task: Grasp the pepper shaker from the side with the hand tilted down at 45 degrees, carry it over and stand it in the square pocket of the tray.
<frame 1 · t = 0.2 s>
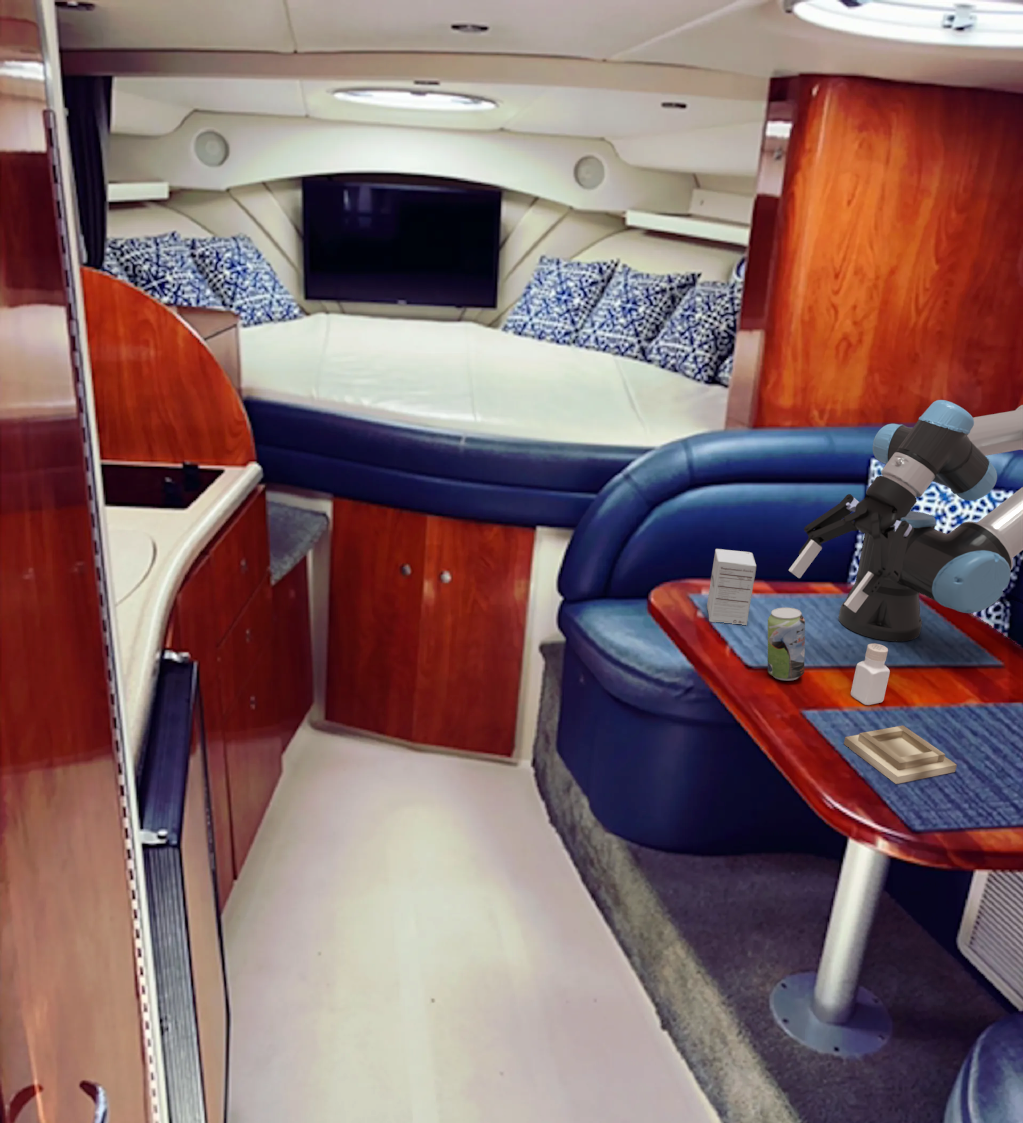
hand: (820, 591, 161), 15 cm above the table, tool tilted 35°, fingers open, 13 cm apart
beverage can: (780, 676, 165), on the table
pepper shaker: (866, 700, 159), on the table
supplement box: (725, 617, 188), on the table
tray: (898, 757, 142), on the table
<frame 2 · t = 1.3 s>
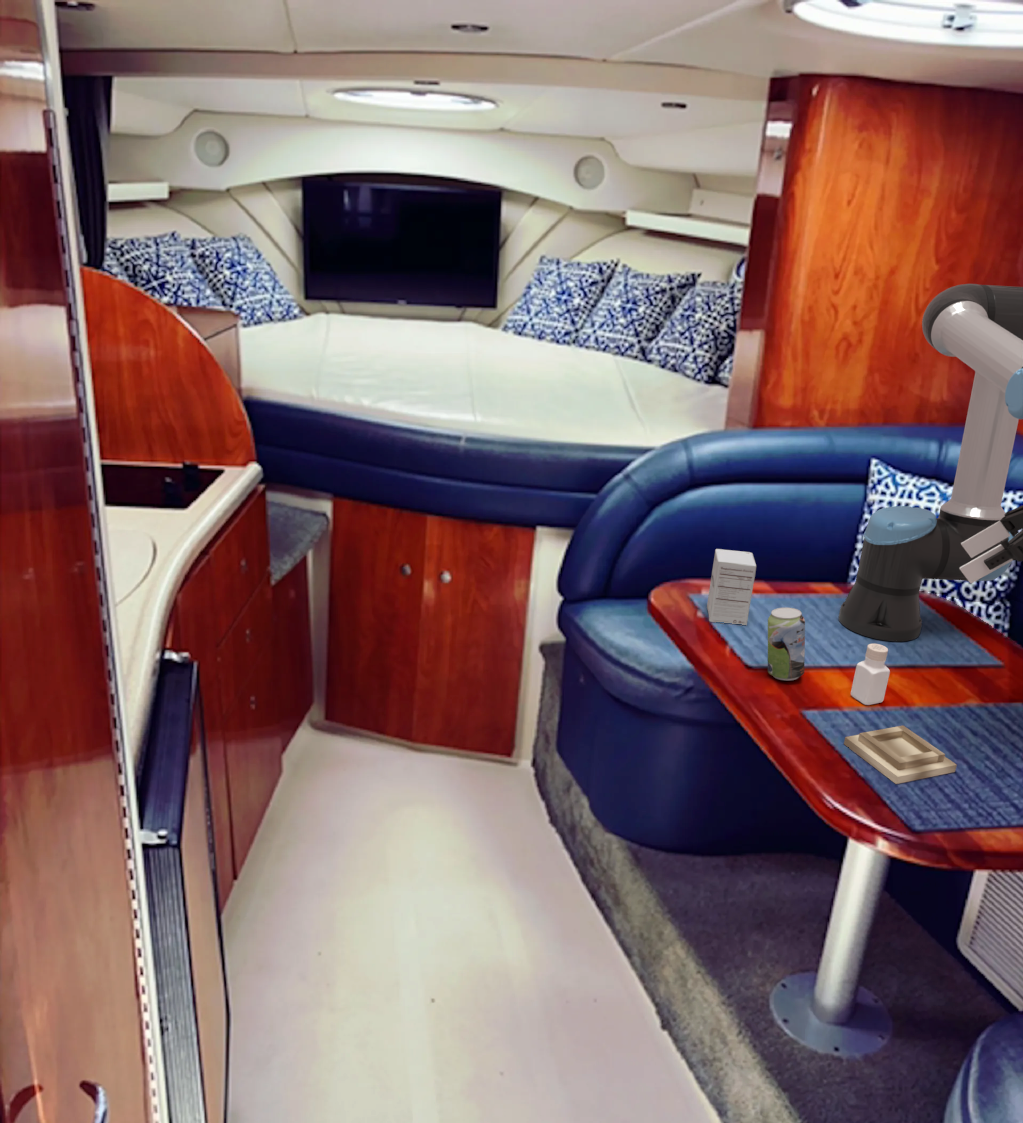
hand: (965, 562, 147), 26 cm above the table, tool tilted 45°, fingers open, 13 cm apart
nothing on the table moved.
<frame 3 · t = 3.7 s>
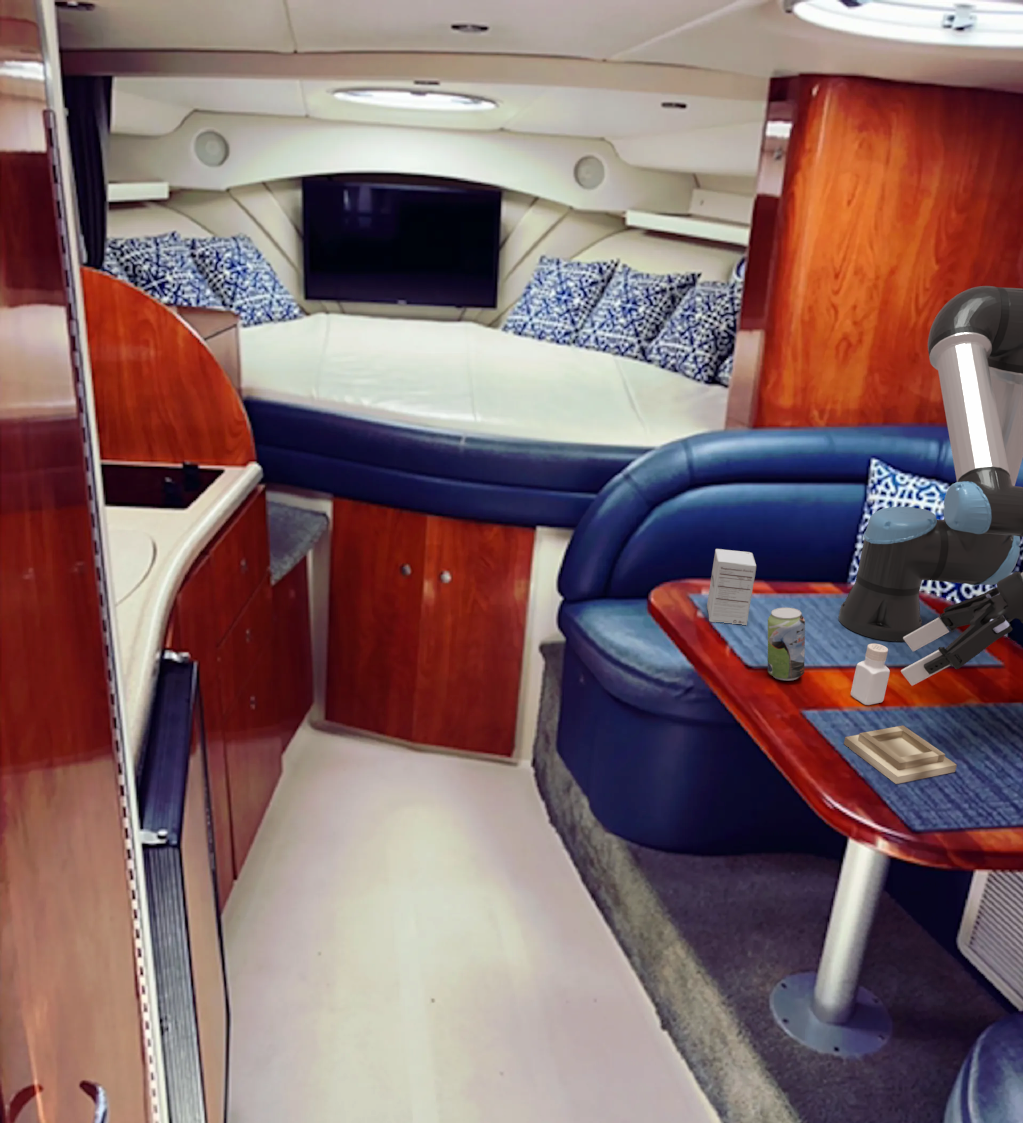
hand: (907, 660, 153), 9 cm above the table, tool tilted 45°, fingers open, 13 cm apart
nothing on the table moved.
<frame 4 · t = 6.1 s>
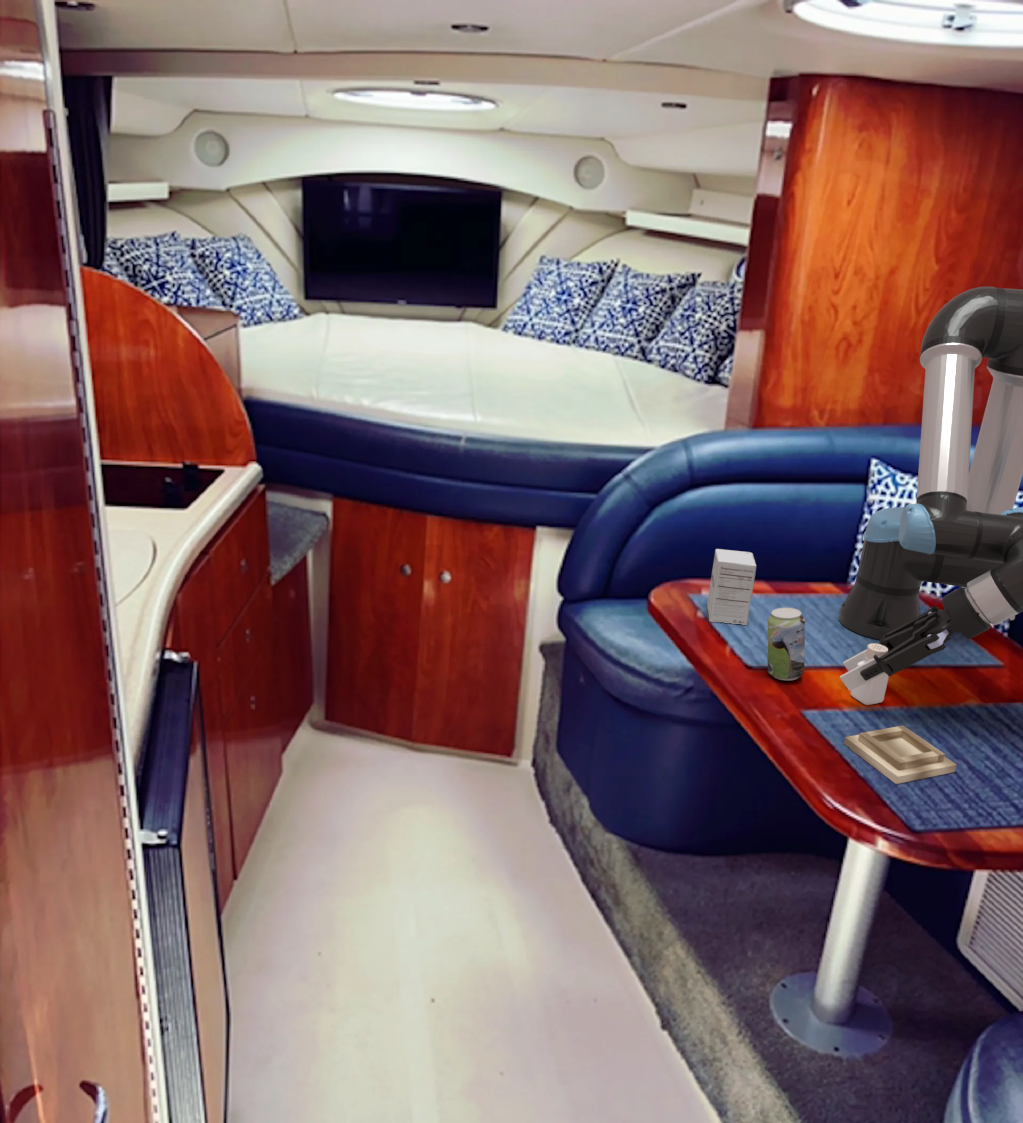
hand: (846, 676, 159), 3 cm above the table, tool tilted 45°, fingers closed on pepper shaker, 5 cm apart
pepper shaker: (866, 700, 159), on the table, touching gripper
everything else where it was.
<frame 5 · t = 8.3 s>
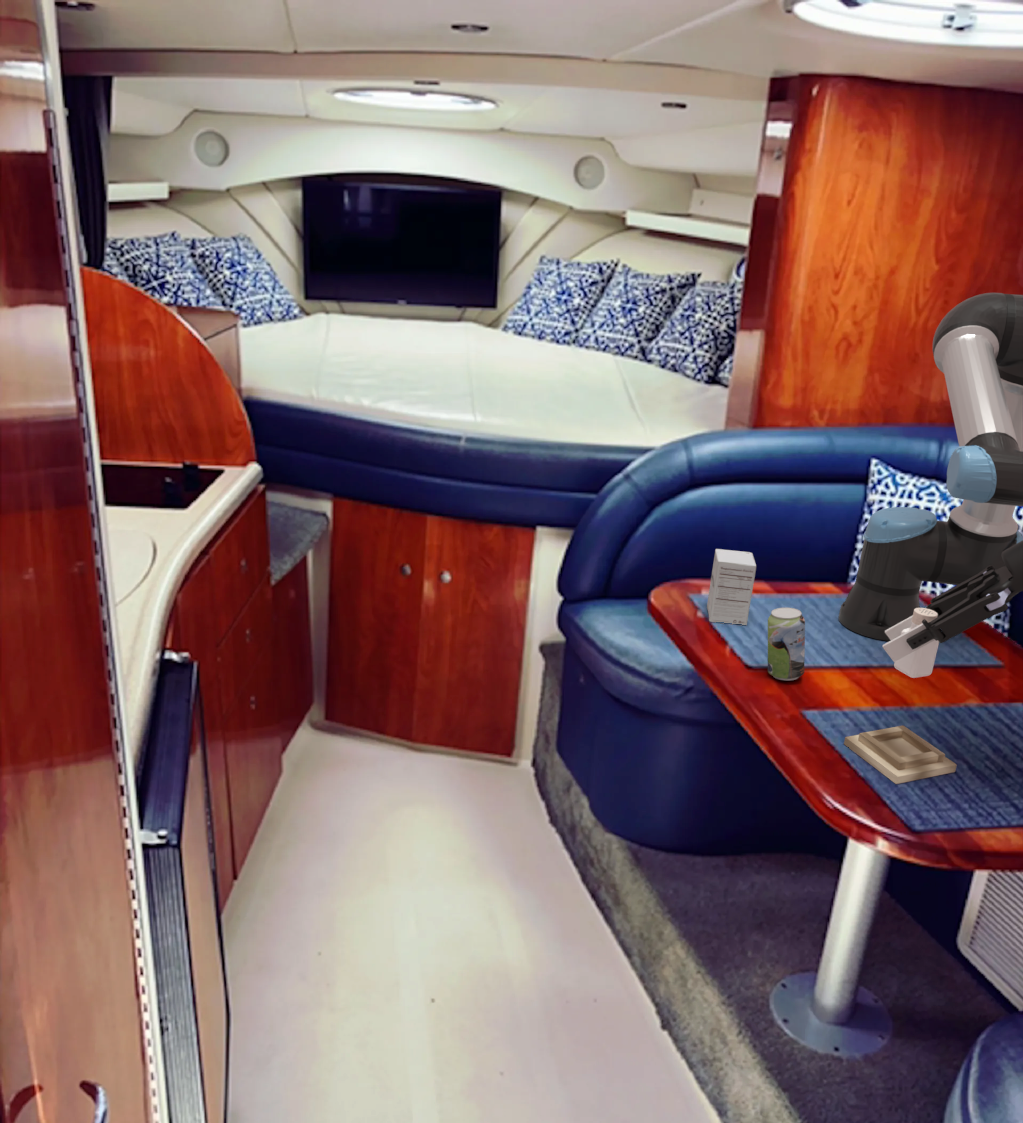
hand: (889, 645, 140), 16 cm above the table, tool tilted 45°, fingers closed on pepper shaker, 5 cm apart
pepper shaker: (911, 673, 140), point 13 cm above the table, touching gripper
everything else where it was.
when the fingers open (6 cm above the table, at t = 10.6 s): pepper shaker drops 1 cm, resting on tray.
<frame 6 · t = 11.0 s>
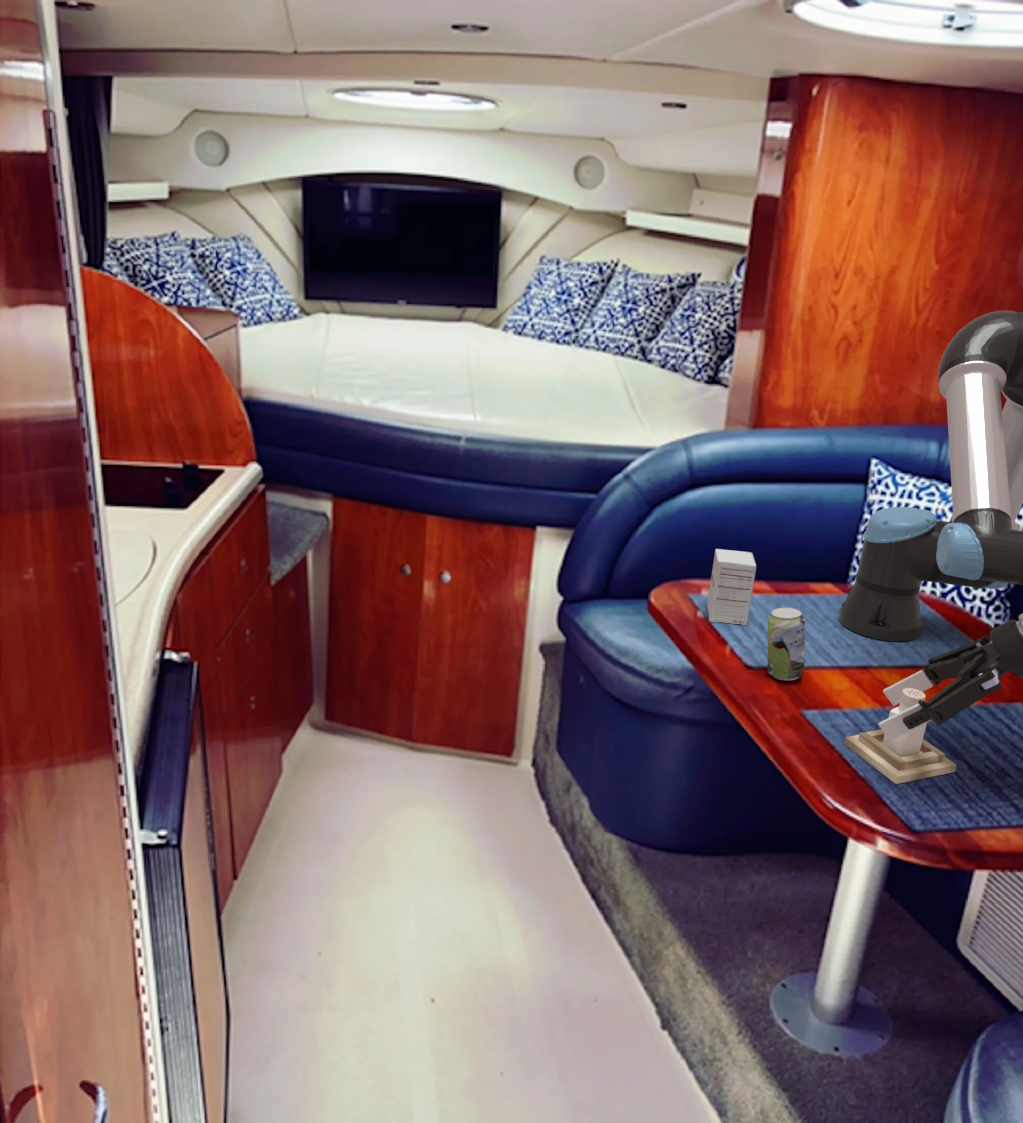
hand: (886, 714, 141), 6 cm above the table, tool tilted 45°, fingers open, 10 cm apart
pepper shaker: (900, 751, 142), point 1 cm above the table, touching tray
everything else where it was.
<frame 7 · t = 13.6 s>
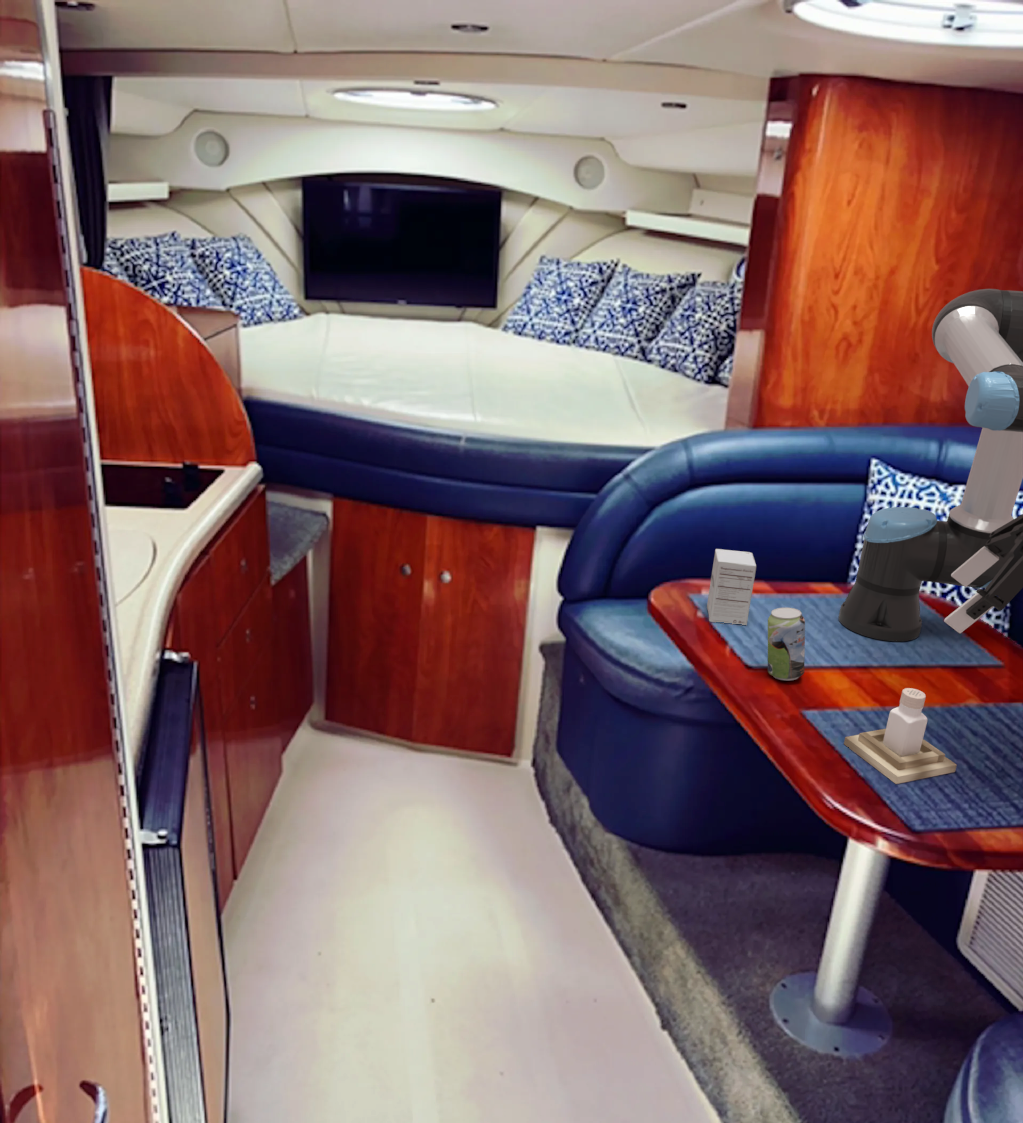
hand: (955, 602, 140), 23 cm above the table, tool tilted 35°, fingers open, 13 cm apart
nothing on the table moved.
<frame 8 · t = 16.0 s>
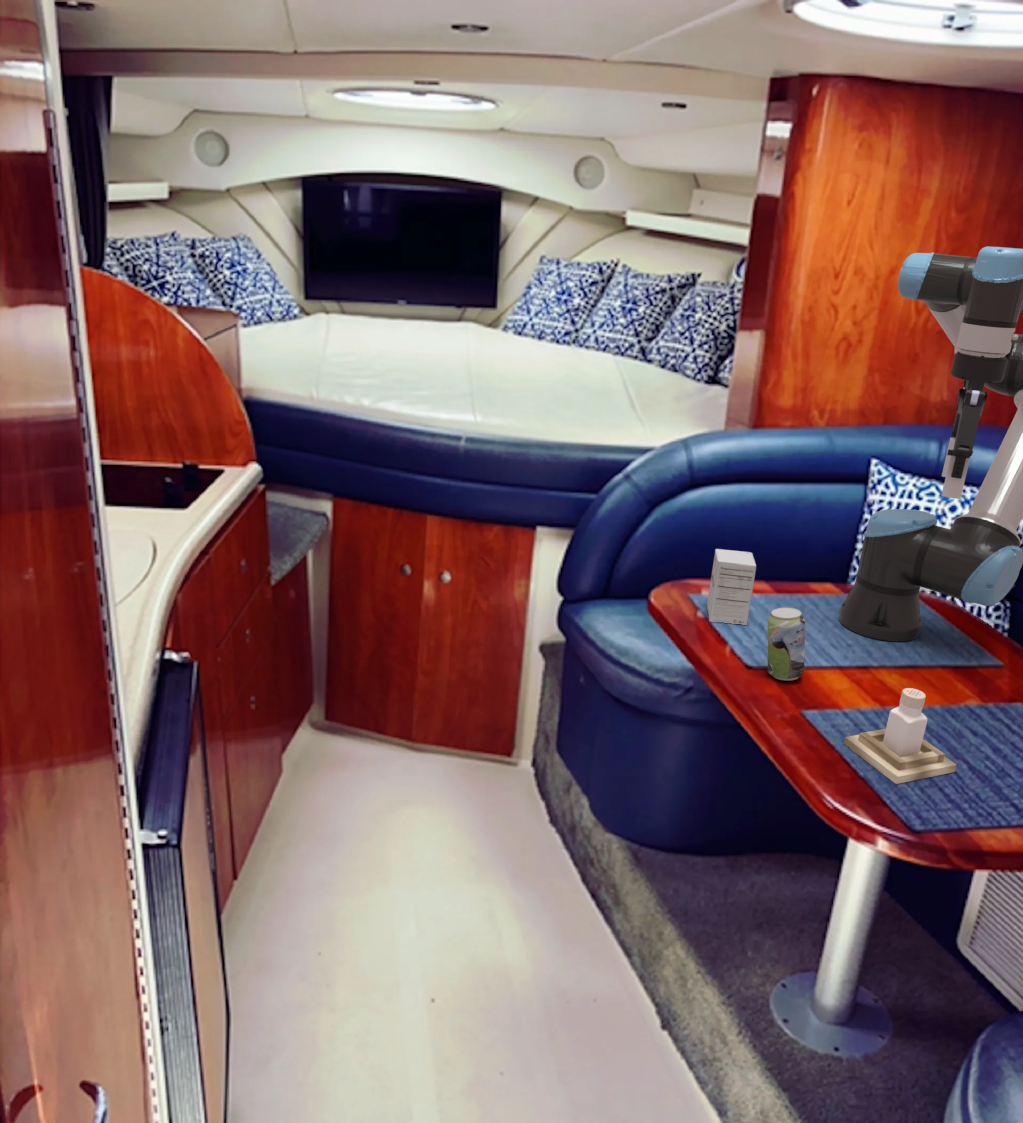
hand: (950, 487, 155), 35 cm above the table, tool pointing down, fingers open, 13 cm apart
nothing on the table moved.
at the end: pepper shaker 0.1 cm off-centre on the tray, point 1.0 cm above the tray's base; pepper shaker tilted 0°; the gripper is holding nothing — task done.
